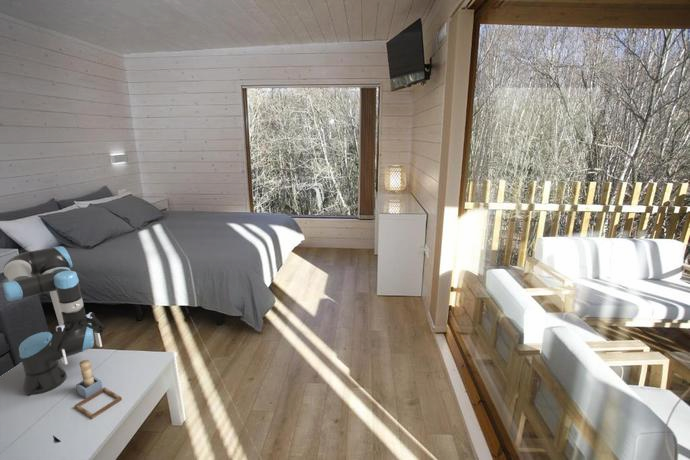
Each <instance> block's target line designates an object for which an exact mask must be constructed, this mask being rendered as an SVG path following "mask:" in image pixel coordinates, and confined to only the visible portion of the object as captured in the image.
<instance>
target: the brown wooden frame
mask: <svg viewBox="0 0 690 460" xmlns="http://www.w3.org/2000/svg"><path fill="white" fill-rule="evenodd" d="M103 393H105V394H107V395H108V396H111V398H112V397H113V398H114V400H112V401H111V402H109V403H107V404H106V405H105V406H102V407H101V408H99V409H98V410H97V411H95V412H93V413H91V412H90V411H88V410H87V409H86V408H84V407H82V406H84V405H85V404H87V403H88V402H89V403H90V401H91V400H94V398H96V397H99V396H100V395H102V394H103ZM121 401H123V400H122V397H121V396H120V395H118V394H116V393H115V392H113V391H111V390H110V389H108V388H107V387H103V389H101V390H99V391H98V392H96V393H94V394H93V395H91V396H89V397H88V398H84V399H83V400H81V401H79V402H78V403H76V404H75V405H74V408H75V409H76V410H77V411H79V412H81V413H82V414H84V416H87V417H88V418H89V419H91V420H93V419H95V418H96V417H99V415H101V414H103V413H104V412H106V411H108V410H109V409H110V408H112V407H113V406H114V405H117V404H119V403H120V402H121Z"/></svg>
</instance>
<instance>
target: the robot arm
mask: <svg viewBox="0 0 690 460" xmlns="http://www.w3.org/2000/svg"><path fill="white" fill-rule="evenodd" d="M73 266H74V265H73V262H72V259H71V256H70V254H69V252H68V251H67V249H66V248H65V247H64V246H61V245H60V246H59V245H58V246H52V247H49V248H48V247H47V248H42V249H36V250H31V251H25V252H22V253H19V254H17V255H15V256H13V257H11V258H10V259H9V260H8V261H6V263H5V264H4V265H3V274H4V276H5V277H6V279H8V281H7V282H4V283H3V284H2V288H3V291H4V294H5V295H4V296H5V298H6V301H8V302H13V301H17V300H18V301H19V300H22V299H26V298H30V297H35V296H38V295H41V294H46V293H49V295H50V298H51V302H52V305H53V309H54V311H55V315H56V318H57V322H58V325H55V326H54V333H51V332H49V331H44V332H43V331H41V332H37V333H36V334H32V335H31V336H28V337H27V338H26V339H24V340H23V341H22V342H21V343H20V344H19V346H18V353H19V358H20V359H21V363H22V368H23V370H24V374H25V375H24V376H25V377H24V382H23V391H24V394H26V395H27V396H35V395H42V394H45V393H49V392H51V391H53V390H56V388H58V387H60V386H61V385H62V384H63V383H64V382H65V381H66V380H67V377H68V376H67V372H66V370H65V369H64V368H63V367H62V366H61V364H60V363H59V360H61V363H62V364H63V365H68V358H67V357H71V356H73V355H76V354H79V353H83V352H85V351H87V350H90V349H92V348H93V347H94V346H95V343H96V347H99V348H101V347H103V344H102V339H103V332H104V331H103V330H105V329H106V326H105V324H103V323H102V322H101V321H100V319H99V318H97V317H96V314H95V313H94V312H91V311H89V312H88V313H87V314H86V310H85V306H84V301H83V297H82V291H81V286H80V282H79V281H80V279H79V277H78V273H77V272H76V271H74V270H71V268H73ZM89 319H90V320H91V321H92V322H93V323H95V324H96V325H97V326H98V327H96V326H94V325H92V323H91V322H87V321H88V320H89Z"/></svg>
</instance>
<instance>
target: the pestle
mask: <svg viewBox="0 0 690 460" xmlns="http://www.w3.org/2000/svg"><path fill="white" fill-rule="evenodd" d="M79 367H80V372H81V377H82V381H83V382H84V386H85V388H87V387H89V386H91V385H92V384H94V378H93V376H94V374H93V370H92V365H91V361H90V360H89V359H83V360H81V361H79Z"/></svg>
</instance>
